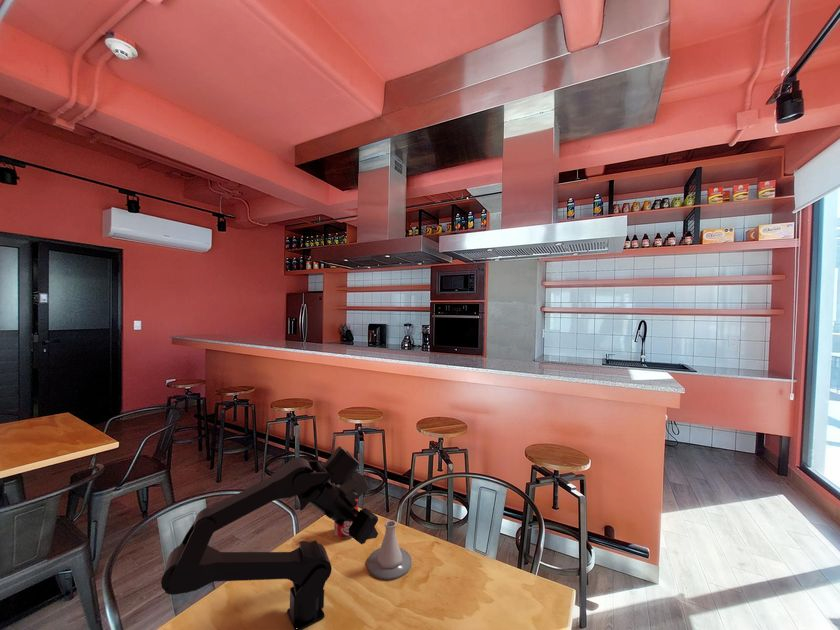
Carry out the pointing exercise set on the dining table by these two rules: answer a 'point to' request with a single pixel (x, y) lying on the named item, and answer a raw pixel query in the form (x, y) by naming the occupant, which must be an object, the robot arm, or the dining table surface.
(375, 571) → the slate coaster
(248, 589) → the dining table surface
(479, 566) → the dining table surface
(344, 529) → the soda can
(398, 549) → the flask
